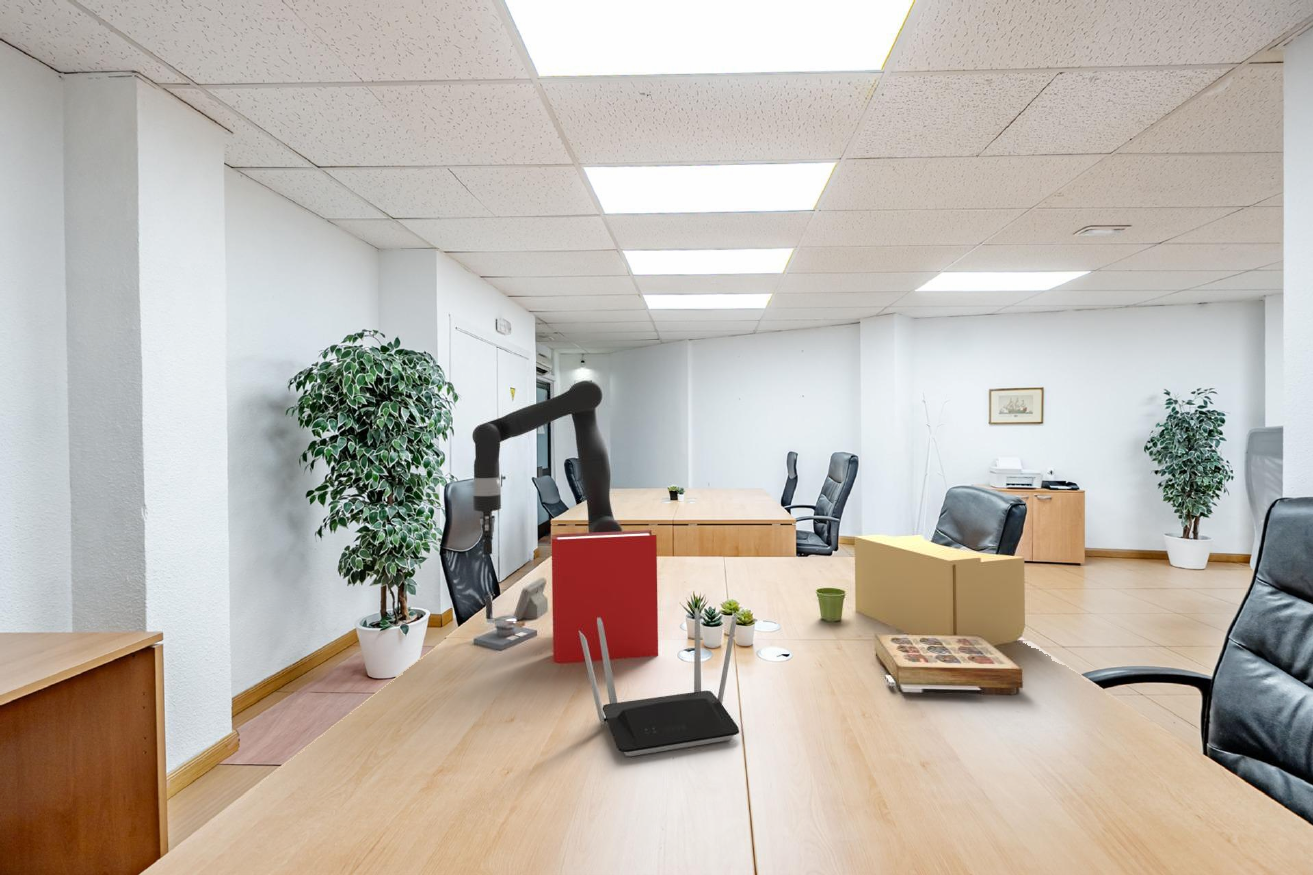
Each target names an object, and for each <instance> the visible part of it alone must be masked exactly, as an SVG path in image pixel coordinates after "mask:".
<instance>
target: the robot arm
mask: <svg viewBox="0 0 1313 875" xmlns="http://www.w3.org/2000/svg"><path fill="white" fill-rule="evenodd" d="M602 401H603V391H602V389H601V387H600V386H599V385H598V383H596V382H594V381H591V380H582V381H578V382H576V383H574V384H572V385H571V387H570V388H569V389H568V390H567V391H565V392H563V393H561V394H559V395H557V396H554V397H552V398H550V399H549V398H548V399H546V400H544V401H540V402H537V403H534V404H532V405H531V404H530V405H528V406H524V407H522V408H519V409H517V410H514V411H512V412H510V413H508V414H506V415H504V416H501V417H498V418H496V419H493V420H490V421H487V422H484V423H481V424H479V425H477V426H476V427H475V428H474V429H473V432H472V436H471V437H472V441H473V443H474V445H475V446H474V451H475V459H474V461H473V486H472V489H473V490H472V491H473V493H472V494H473V496H472V498H473V499H472V500H473V510H474V511H475V512H482V515H481V516H480V517H479V523H480V528H481V529H480V530H481V532H480V533H481V534H482V537H481V538H482V542H483V554H484V555H485V556H486V555H488V556H489V555H492V554H493V540H494V539H493V536H494V533H495V523H496V522H495V521H496V520H495V519H496V517H495V515H493V512H495V511H499V510H500V509H501V508H502V500H501V499H502V497H501V495H502V494H501V492H502V491H501V490H502V489H501V481H500V478H501V476H500V450H501V443H503V442H504V441H506V440H508V439H511V438H515V437H519V436H522V435H525V434H527V433H529V432H531V431H534V430H536V429H538V428H540V427H543V426H545V425H547V424H549V423H551V422H555V421H556V420H558V419H561V418H563V417H566V416H570V415H571V418H572V419H571V420H572V422H573V426H574V433H575V443H576V451H577V460H578V467H579V472H580V478H581V482H582V488H583V492H584V496H585V500H586V504H587V508H586V509H587V521H588V522H587V524H588V527H587V528H588V533H597V532H620V531H623V528H622V525H621V523H619V521H617V520H615V518H614V515H613V510H612V505H611V497H610V495H611V494H610V493H611V492H610V491H611V479H612V478H611V467H610V459H609V454H608V450H607V449H608V448H607V447H606V446H607V445H606V444H605V441H604V438H603V436H602V434H601V432H600V429H599V426H598V420H597V411H596V410H597V409H596V408H597V407H599V405H600V404H601V403H602Z"/></svg>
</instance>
